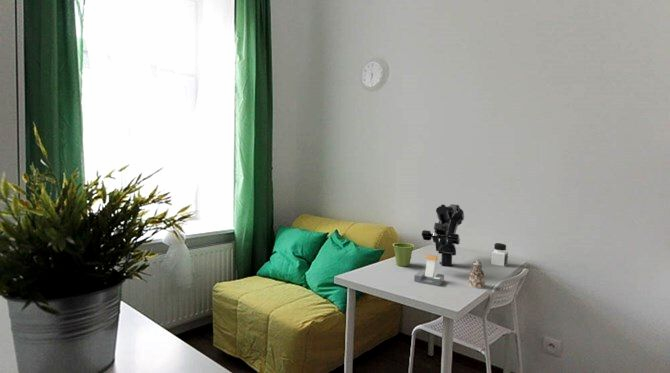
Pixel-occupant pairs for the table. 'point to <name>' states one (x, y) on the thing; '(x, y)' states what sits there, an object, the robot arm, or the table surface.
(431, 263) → the switch lever
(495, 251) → the medicine bottle
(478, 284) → the figurine
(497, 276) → the table surface
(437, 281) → the switch housing
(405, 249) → the plant pot
